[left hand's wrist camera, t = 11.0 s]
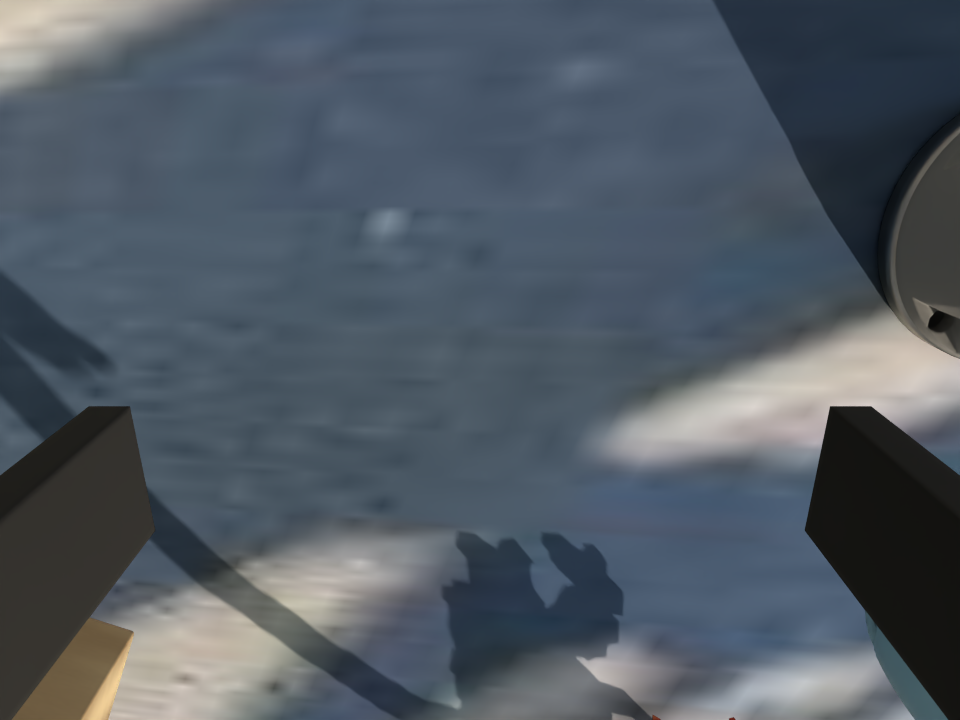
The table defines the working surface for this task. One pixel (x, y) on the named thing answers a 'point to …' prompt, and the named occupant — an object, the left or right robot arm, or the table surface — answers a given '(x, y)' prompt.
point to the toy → (656, 719)
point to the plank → (82, 676)
